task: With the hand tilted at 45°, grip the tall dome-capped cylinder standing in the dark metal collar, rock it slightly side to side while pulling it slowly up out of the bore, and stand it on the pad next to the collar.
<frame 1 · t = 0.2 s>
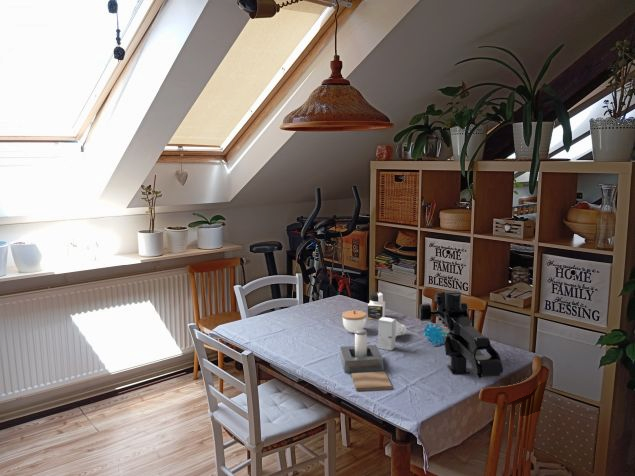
hand: (436, 305, 216), 17 cm above the table, tool horizontal, fingers open, 9 cm apart
pad: (371, 382, 186), on the table
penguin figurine: (395, 337, 229), on the table
blue fuzzy rounded lump: (435, 343, 222), on the table
skincare box: (387, 348, 217), on the table
dome-capped cylinder: (360, 347, 200), in the collar
collar: (361, 364, 201), on the table
medicine bottle: (376, 317, 256), on the table
lidded jar: (354, 331, 238), on the table
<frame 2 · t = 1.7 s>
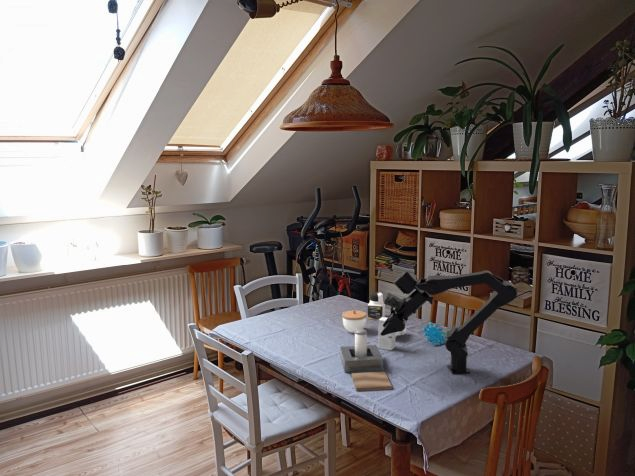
hand: (382, 330, 197), 14 cm above the table, tool tilted 45°, fingers open, 9 cm apart
nothing on the table moved.
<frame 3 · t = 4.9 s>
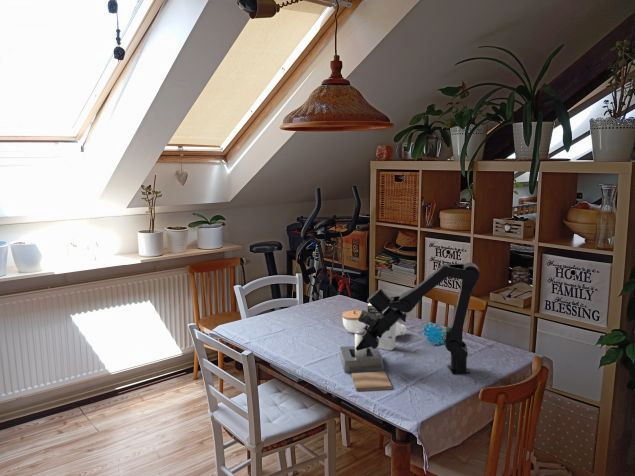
hand: (357, 347, 200), 7 cm above the table, tool tilted 45°, fingers closed on dome-capped cylinder, 4 cm apart
dome-capped cylinder: (360, 347, 200), in the collar, touching gripper
everything else where it was.
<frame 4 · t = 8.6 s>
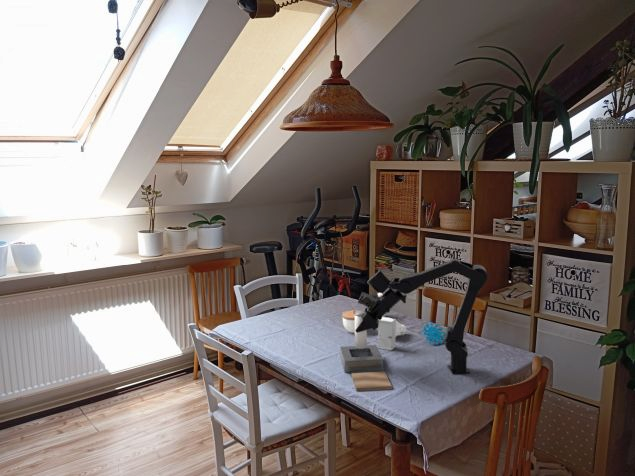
hand: (357, 329, 199), 13 cm above the table, tool tilted 45°, fingers closed on dome-capped cylinder, 4 cm apart
dome-capped cylinder: (360, 329, 199), point 13 cm above the table, touching gripper
everything else where it was.
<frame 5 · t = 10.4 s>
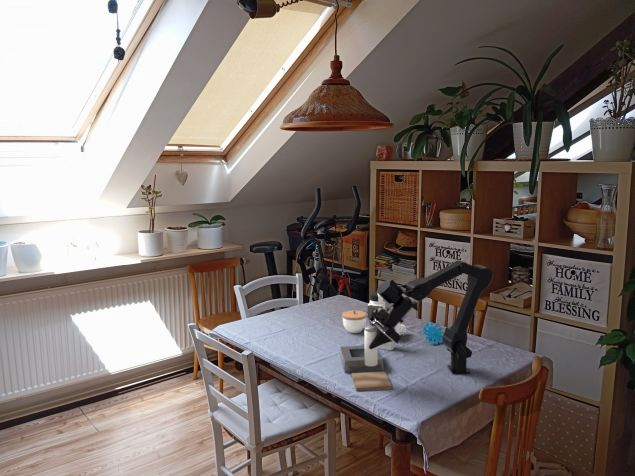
hand: (367, 346, 183), 13 cm above the table, tool tilted 45°, fingers closed on dome-capped cylinder, 4 cm apart
dome-capped cylinder: (370, 345, 183), point 13 cm above the table, touching gripper
when the fingers open (8 cm above the table, at t = 12.3 s): dome-capped cylinder stays where it is, resting on pad.
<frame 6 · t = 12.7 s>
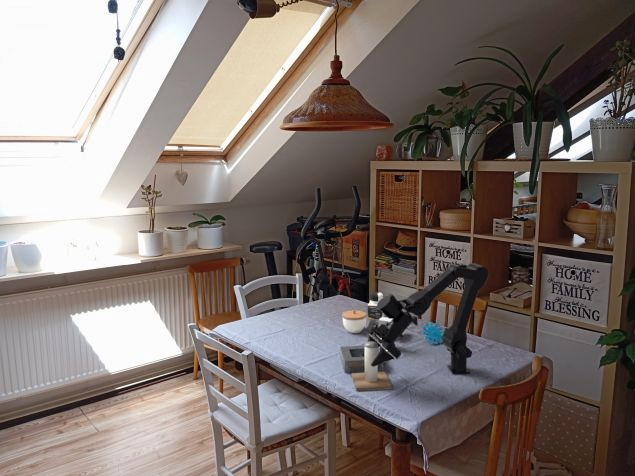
hand: (367, 360, 184), 8 cm above the table, tool tilted 45°, fingers open, 9 cm apart
dome-capped cylinder: (371, 361, 184), on the pad, point 8 cm above the table
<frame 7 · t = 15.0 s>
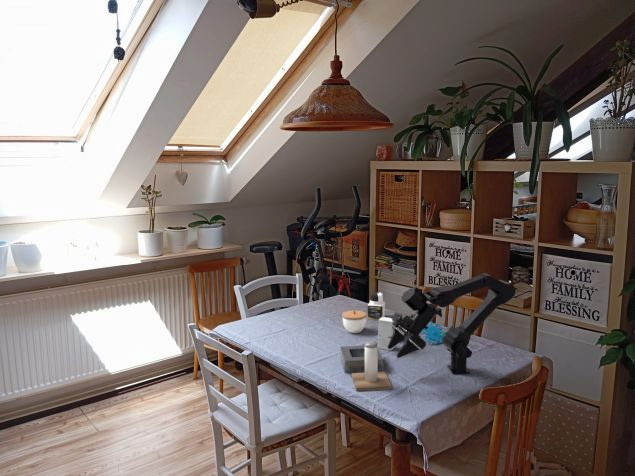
hand: (392, 352, 186), 10 cm above the table, tool tilted 45°, fingers open, 9 cm apart
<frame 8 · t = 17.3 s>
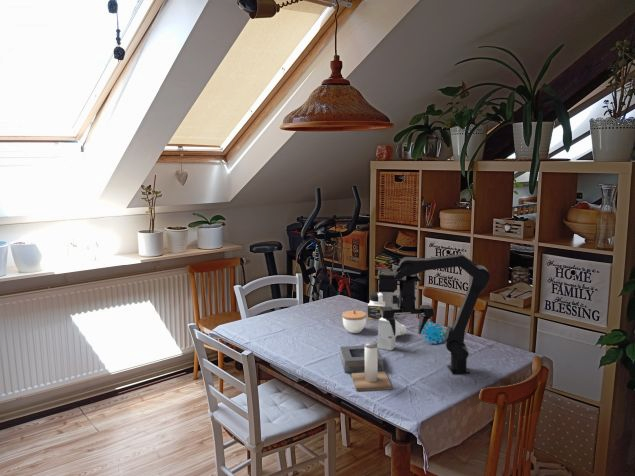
hand: (407, 334, 194), 13 cm above the table, tool pointing down, fingers open, 9 cm apart
at the end: dome-capped cylinder inside the target area on the pad (0.0 cm from its centre), point 7.5 cm above the pad's base; dome-capped cylinder tilted 0°; the gripper is holding nothing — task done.
